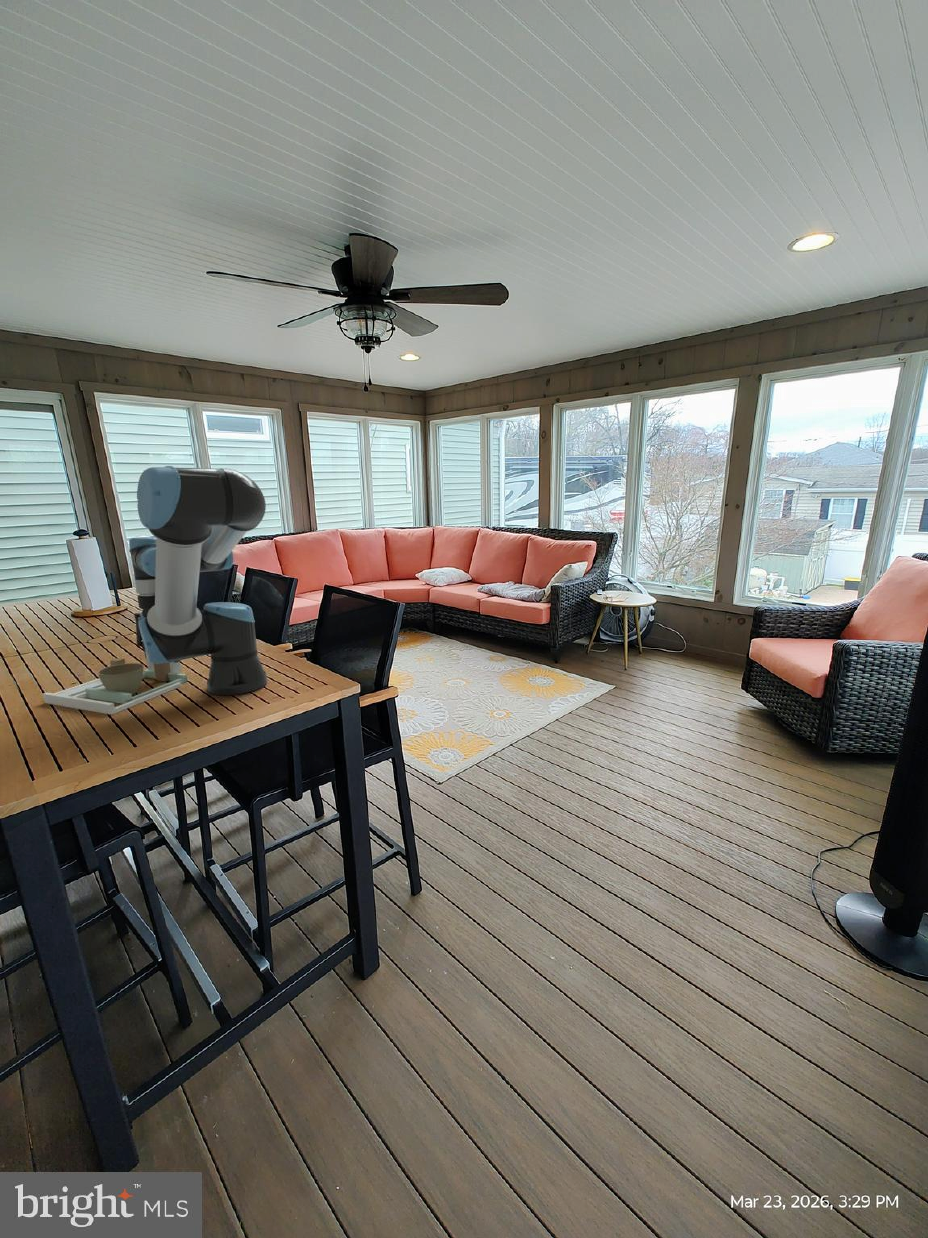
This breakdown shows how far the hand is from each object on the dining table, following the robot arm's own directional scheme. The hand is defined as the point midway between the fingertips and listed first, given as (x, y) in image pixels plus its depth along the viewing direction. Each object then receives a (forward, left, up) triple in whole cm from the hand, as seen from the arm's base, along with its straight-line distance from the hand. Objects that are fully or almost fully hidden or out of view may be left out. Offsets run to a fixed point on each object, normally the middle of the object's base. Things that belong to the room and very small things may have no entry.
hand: (164, 671), depth 145 cm
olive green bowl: (0, +12, -2) cm, 13 cm away
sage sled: (0, +8, -2) cm, 9 cm away
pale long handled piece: (+12, +13, -2) cm, 18 cm away
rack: (+4, +13, -2) cm, 13 cm away
